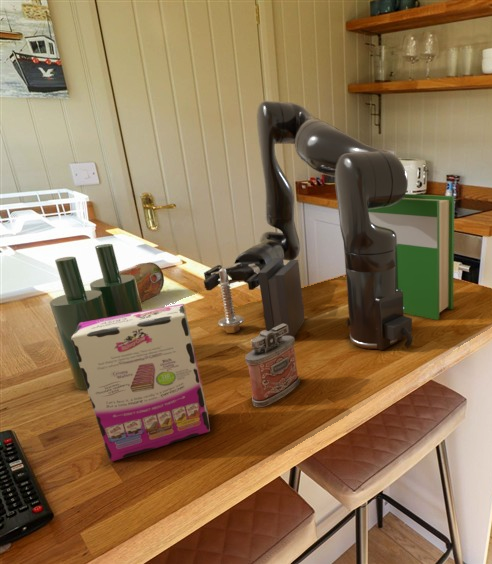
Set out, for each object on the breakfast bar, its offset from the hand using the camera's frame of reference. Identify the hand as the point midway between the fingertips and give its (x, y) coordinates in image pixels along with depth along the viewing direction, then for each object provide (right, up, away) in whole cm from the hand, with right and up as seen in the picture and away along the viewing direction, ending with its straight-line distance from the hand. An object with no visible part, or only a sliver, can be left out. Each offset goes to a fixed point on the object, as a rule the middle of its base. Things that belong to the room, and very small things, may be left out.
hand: (228, 285), depth 82 cm
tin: (-30, -4, +20) cm, 36 cm away
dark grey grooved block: (+11, -9, +1) cm, 14 cm away
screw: (0, -9, +2) cm, 9 cm away
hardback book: (+36, -5, +11) cm, 38 cm away
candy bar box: (+3, -19, -29) cm, 35 cm away
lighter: (+15, -16, -20) cm, 30 cm away
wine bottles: (-14, -14, -11) cm, 23 cm away
